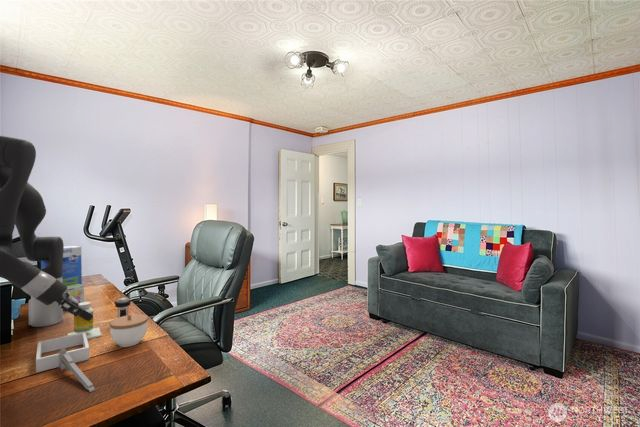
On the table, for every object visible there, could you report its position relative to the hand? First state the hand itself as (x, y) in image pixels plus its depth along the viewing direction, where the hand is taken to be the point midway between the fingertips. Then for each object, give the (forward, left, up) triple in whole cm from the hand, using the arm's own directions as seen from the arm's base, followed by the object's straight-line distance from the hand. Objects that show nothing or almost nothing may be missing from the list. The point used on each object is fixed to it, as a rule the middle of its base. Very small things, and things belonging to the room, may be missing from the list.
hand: (90, 316), depth 109 cm
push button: (+5, +9, -7) cm, 12 cm away
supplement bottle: (-1, -1, -5) cm, 5 cm away
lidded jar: (+18, -5, -7) cm, 20 cm away
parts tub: (+5, -16, -6) cm, 18 cm away
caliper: (+19, -27, -7) cm, 33 cm away
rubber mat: (-1, -1, -6) cm, 7 cm away
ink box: (-30, +26, -7) cm, 40 cm away
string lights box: (-42, +33, -7) cm, 54 cm away
